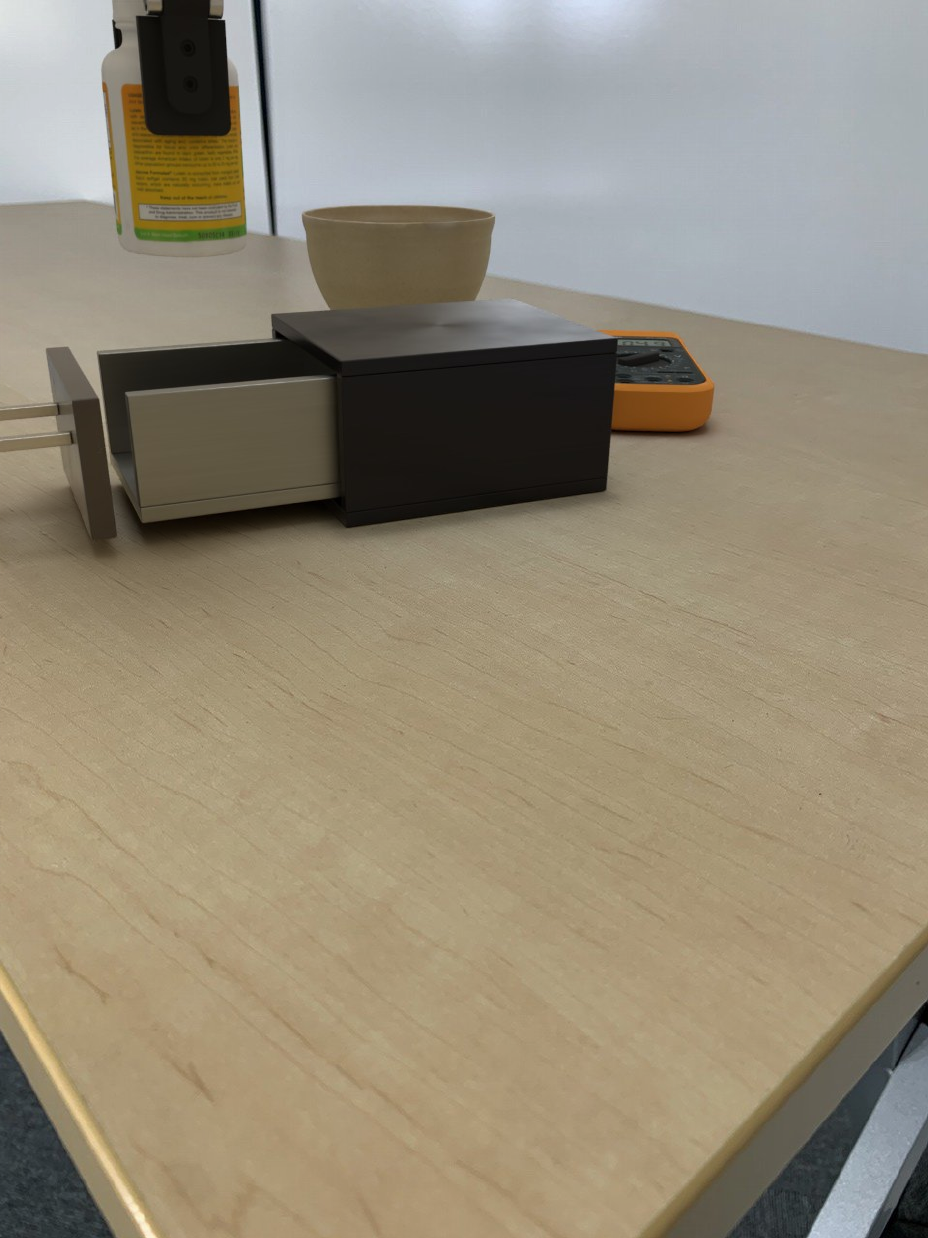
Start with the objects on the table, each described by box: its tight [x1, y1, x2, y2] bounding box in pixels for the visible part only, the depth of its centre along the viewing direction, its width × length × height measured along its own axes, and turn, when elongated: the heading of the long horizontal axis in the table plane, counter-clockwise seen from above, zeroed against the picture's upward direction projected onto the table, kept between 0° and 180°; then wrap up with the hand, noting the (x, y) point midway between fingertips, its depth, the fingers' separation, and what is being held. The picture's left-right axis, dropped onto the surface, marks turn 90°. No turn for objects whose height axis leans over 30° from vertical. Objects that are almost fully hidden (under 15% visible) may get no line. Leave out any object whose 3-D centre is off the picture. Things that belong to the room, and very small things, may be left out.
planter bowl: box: [301, 204, 496, 310], centre depth 94 cm, size 16×16×11 cm
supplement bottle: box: [100, 0, 248, 258], centre depth 45 cm, size 5×5×10 cm
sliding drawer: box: [0, 337, 341, 542], centre depth 57 cm, size 20×11×7 cm, turn 114°
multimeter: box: [596, 329, 715, 433], centre depth 80 cm, size 9×18×3 cm, turn 179°
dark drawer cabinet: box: [270, 297, 618, 528], centre depth 63 cm, size 16×13×9 cm
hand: (174, 124), depth 45 cm, fingers closed on supplement bottle, 5 cm apart
